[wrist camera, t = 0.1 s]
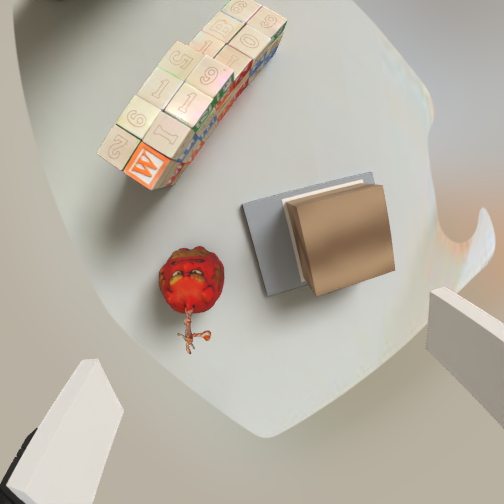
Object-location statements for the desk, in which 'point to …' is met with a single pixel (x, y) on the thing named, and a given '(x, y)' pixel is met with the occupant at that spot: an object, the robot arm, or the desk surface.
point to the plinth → (342, 236)
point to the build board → (284, 233)
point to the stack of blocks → (191, 94)
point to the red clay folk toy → (192, 285)
